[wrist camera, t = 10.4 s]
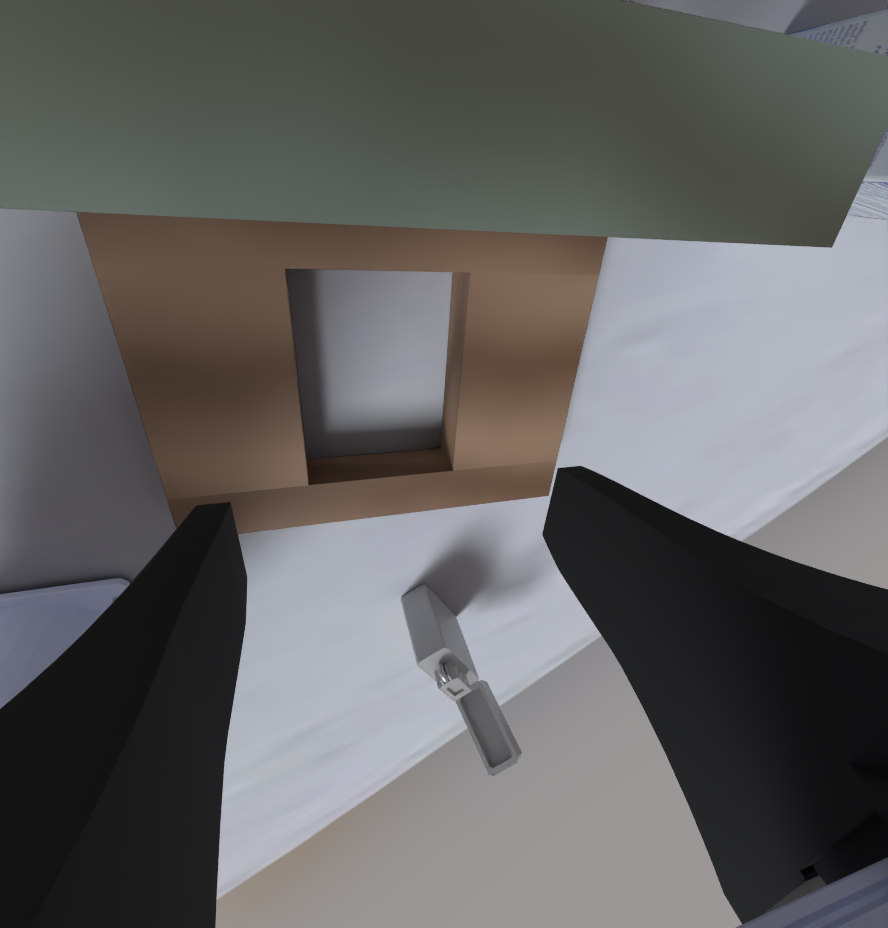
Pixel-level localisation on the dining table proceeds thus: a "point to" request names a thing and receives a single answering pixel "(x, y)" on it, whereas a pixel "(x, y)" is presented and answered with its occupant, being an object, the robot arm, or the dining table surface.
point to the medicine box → (884, 182)
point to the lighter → (458, 676)
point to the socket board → (252, 372)
